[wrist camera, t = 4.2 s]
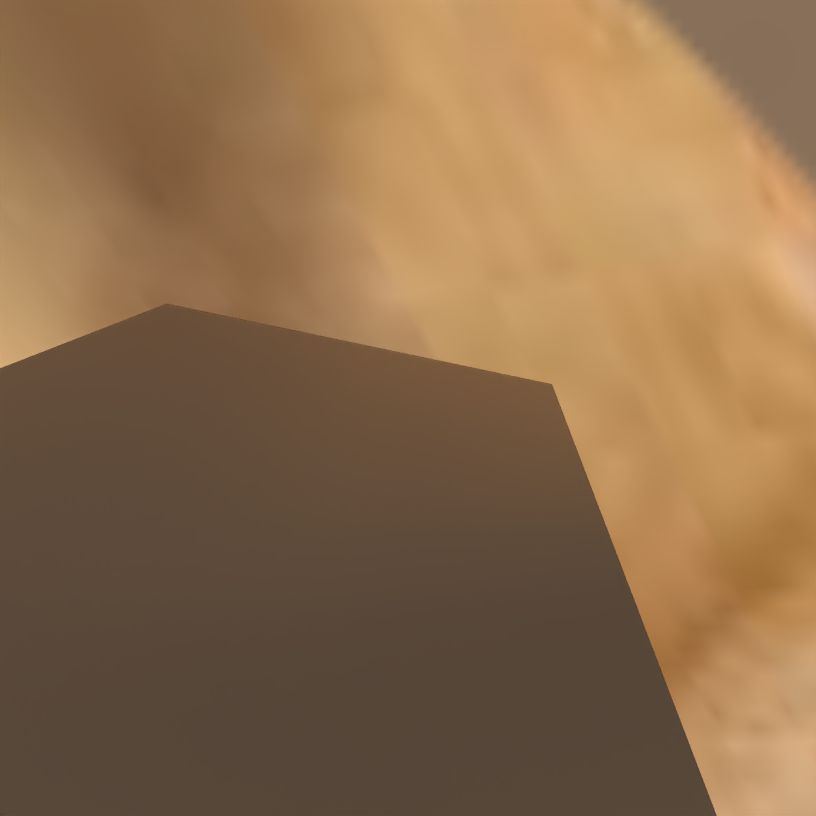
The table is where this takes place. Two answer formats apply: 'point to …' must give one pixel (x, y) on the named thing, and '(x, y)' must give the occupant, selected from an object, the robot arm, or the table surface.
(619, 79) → the table surface
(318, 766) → the grey cube
